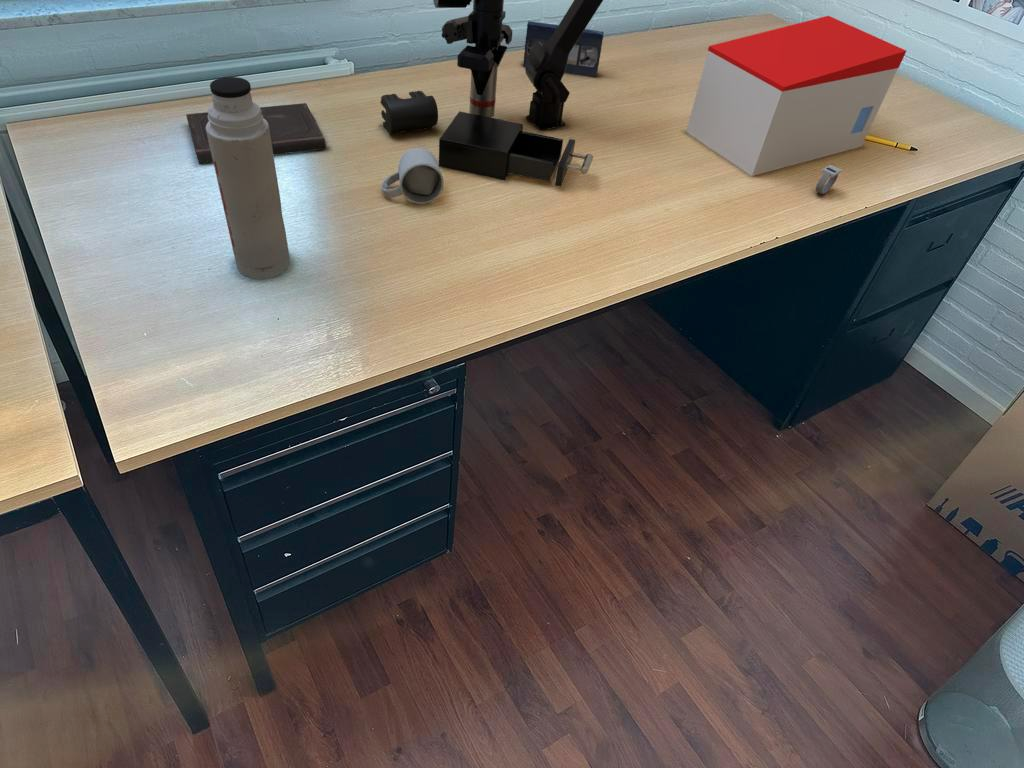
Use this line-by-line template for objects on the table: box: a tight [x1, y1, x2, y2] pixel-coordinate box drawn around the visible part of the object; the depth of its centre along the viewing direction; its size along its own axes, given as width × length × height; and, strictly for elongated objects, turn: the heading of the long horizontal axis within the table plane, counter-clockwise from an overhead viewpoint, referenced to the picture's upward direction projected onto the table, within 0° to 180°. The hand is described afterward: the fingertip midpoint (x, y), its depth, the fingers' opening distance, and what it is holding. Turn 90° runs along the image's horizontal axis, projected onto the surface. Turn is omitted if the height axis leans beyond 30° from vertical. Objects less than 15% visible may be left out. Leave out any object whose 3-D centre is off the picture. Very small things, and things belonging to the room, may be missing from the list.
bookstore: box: [685, 15, 907, 177], centre depth 151 cm, size 21×35×21 cm, turn 121°
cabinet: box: [438, 111, 524, 181], centre depth 138 cm, size 13×13×6 cm
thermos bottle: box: [206, 76, 291, 280], centre depth 101 cm, size 8×8×28 cm
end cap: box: [380, 90, 439, 135], centre depth 144 cm, size 10×7×7 cm
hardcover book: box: [185, 102, 327, 164], centre depth 137 cm, size 16×23×2 cm
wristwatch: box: [815, 164, 843, 195], centre depth 141 cm, size 6×3×5 cm, turn 135°
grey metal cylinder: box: [469, 62, 499, 118], centre depth 145 cm, size 5×5×10 cm
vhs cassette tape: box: [522, 20, 604, 78], centre depth 172 cm, size 18×3×10 cm, turn 81°
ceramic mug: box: [380, 147, 445, 205], centre depth 126 cm, size 11×8×8 cm
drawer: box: [506, 130, 594, 188], centre depth 137 cm, size 16×12×4 cm
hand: (483, 89), depth 145 cm, fingers closed on grey metal cylinder, 5 cm apart
